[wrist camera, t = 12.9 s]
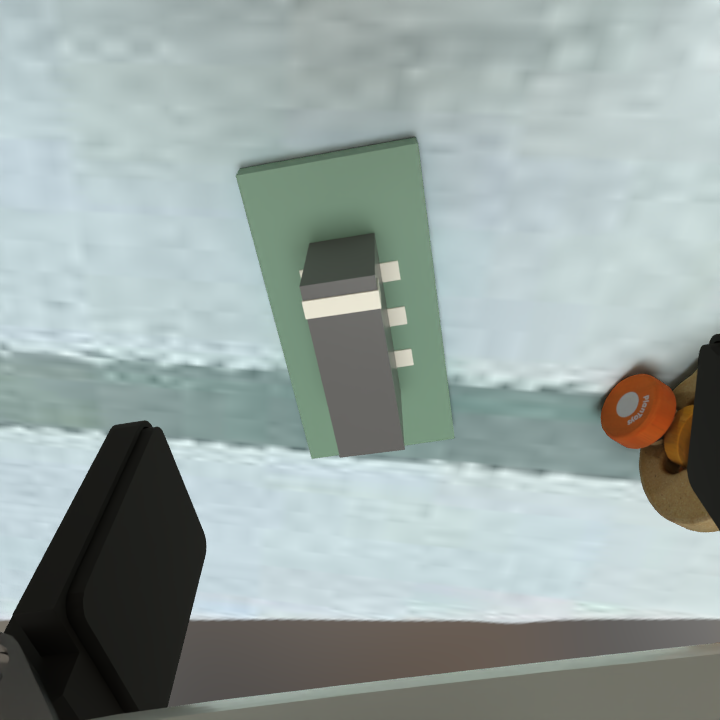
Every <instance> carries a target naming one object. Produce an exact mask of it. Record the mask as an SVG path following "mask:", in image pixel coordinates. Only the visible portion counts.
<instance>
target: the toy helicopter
mask: <svg viewBox="0 0 720 720" xmlns="http://www.w3.org/2000/svg"><path fill="white" fill-rule="evenodd" d="M697 370H698V368H697ZM697 370H696V371H695V372H694V373H693V374H692V375H691V376H690V377H688V378H687V379H685V380H684V381H683V382H682V383H680V384H679V385H678V386H677V387H676V388H675V389H674V390H673V391H672V390H671V388H670V387H668V386H667V385H666V384H664V383H663V382H661V381H660V380H658V379H656V378H655V377H653V376H651V375H648V374H637V375H633V376H630V377H628V378H626V379H624V380H622V381H621V382H619V383H618V384H617V385H616V386H615V387H614V388H613V390H612V391H611V392H610V394H609V395H608V397H607V398H606V400H605V402H604V405H603V408H602V412H601V424H602V428H603V430H604V431H605V433H606V434H607V435H608V436H609V437H610V438H611V439H613V440H615V441H616V442H618V443H620V444H621V445H623V446H625V447H627V448H633V449H639V448H641V449H640V459H639V470H640V477H641V483H642V486H643V489H644V492H645V494H646V496H647V498H648V500H649V502H650V503H651V504H652V506H653V507H654V508H655V510H656V511H657V512H658V513H659V514H660V515H661V516H663V517H664V518H666V519H667V520H669V521H671V522H673V523H676V524H678V525H680V526H682V527H684V528H686V529H689V530H692V531H697V532H715V531H720V530H719V529H718V527H717V526H716V524H715V523H714V521H713V520H712V518H711V517H710V515H709V514H708V512H707V511H706V509H705V508H704V506H703V505H702V503H701V502H700V500H699V499H698V497H697V496H696V494H695V493H694V491H693V489H692V487H691V485H690V483H689V479H688V474H687V464H688V454H689V445H690V436H691V426H692V417H693V407H694V398H695V389H696V379H697Z"/></svg>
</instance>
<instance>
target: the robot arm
mask: <svg viewBox="0 0 720 720" xmlns="http://www.w3.org/2000/svg"><path fill="white" fill-rule="evenodd" d="M687 474H688V479H689V483H690V485H691V487H692V489H693V491H694V493H695V494H696V496H697V497H698V499H699V500H700V502H701V503H702V505H703V506H704V508H705V509H706V511H707V512H708V514H709V515H710V517H711V518H712V520H713V521H714V523H715V524H716V526H717V527H718V529H719V530H720V334H715V335H714V336H712V338H711V340H710V343H709V344H707V345H703V346H702V347H701V349H700V353H699V361H698V370H697V379H696V389H695V398H694V407H693V417H692V426H691V436H690V445H689V454H688V464H687ZM205 555H206V538H205V534H204V531H203V529H202V527H201V524H200V522H199V519H198V517H197V514H196V512H195V509H194V507H193V504H192V502H191V499H190V497H189V494H188V492H187V490H186V487H185V485H184V482H183V480H182V477H181V475H180V472H179V470H178V467H177V465H176V462H175V460H174V458H173V455H172V453H171V450H170V448H169V445H168V443H167V440H166V438H165V435H164V433H163V431H162V430H161V428H160V427H152V425H151V424H150V423H149V422H148V421H138V422H131V423H125V424H118V425H114V426H113V427H112V428H111V429H110V431H109V433H108V435H107V437H106V439H105V441H104V443H103V444H102V446H101V448H100V450H99V452H98V454H97V456H96V458H95V460H94V461H93V463H92V465H91V467H90V469H89V471H88V473H87V475H86V477H85V479H84V480H83V482H82V484H81V486H80V488H79V490H78V492H77V494H76V496H75V497H74V499H73V501H72V503H71V505H70V507H69V509H68V511H67V513H66V514H65V516H64V518H63V520H62V522H61V524H60V526H59V528H58V530H57V531H56V533H55V535H54V537H53V539H52V541H51V543H50V545H49V547H48V548H47V550H46V552H45V554H44V556H43V558H42V560H41V562H40V564H39V566H38V567H37V569H36V571H35V573H34V575H33V577H32V579H31V581H30V583H29V584H28V586H27V588H26V590H25V592H24V594H23V596H22V598H21V600H20V601H19V603H18V605H17V607H16V609H15V611H14V613H13V616H12V618H11V620H10V622H9V624H8V626H7V628H6V629H5V632H4V633H2V632H0V720H720V643H712V644H703V645H694V646H685V647H676V648H666V649H657V650H648V651H639V652H630V653H621V654H612V655H602V656H594V657H584V658H576V659H567V660H558V661H549V662H540V663H531V664H523V665H514V666H505V667H496V668H488V669H479V670H470V671H461V672H453V673H445V674H436V675H427V676H418V677H410V678H402V679H393V680H384V681H376V682H367V683H359V684H350V685H342V686H334V687H326V688H318V689H310V690H301V691H293V692H284V693H277V694H268V695H259V696H252V697H243V698H235V699H226V700H219V701H211V702H203V703H197V704H189V705H182V706H174V707H167V706H168V703H169V698H170V695H171V690H172V686H173V683H174V679H175V674H176V671H177V666H178V663H179V659H180V655H181V650H182V646H183V643H184V639H185V634H186V631H187V626H188V623H189V619H190V615H191V611H192V607H193V603H194V599H195V595H196V591H197V587H198V583H199V579H200V575H201V571H202V567H203V563H204V559H205Z"/></svg>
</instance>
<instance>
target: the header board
mask: <svg viewBox="0 0 720 720" xmlns="http://www.w3.org/2000/svg"><path fill="white" fill-rule="evenodd" d="M236 178H237V182H238V185H239V189H240V193H241V197H242V200H243V204H244V208H245V211H246V215H247V219H248V223H249V226H250V230H251V234H252V238H253V241H254V245H255V249H256V252H257V256H258V260H259V264H260V267H261V271H262V275H263V279H264V282H265V286H266V290H267V293H268V297H269V301H270V305H271V308H272V312H273V316H274V320H275V323H276V327H277V331H278V334H279V338H280V342H281V346H282V349H283V353H284V357H285V361H286V364H287V368H288V372H289V375H290V379H291V383H292V387H293V390H294V394H295V398H296V402H297V405H298V409H299V413H300V416H301V420H302V424H303V428H304V431H305V435H306V439H307V442H308V446H309V450H310V454H311V457H312V459H314V458H321V457H328V456H335V455H339V452H338V448H337V443H336V439H335V435H334V431H333V426H332V422H331V418H330V414H329V410H328V405H327V401H326V397H325V393H324V388H323V384H322V380H321V376H320V372H319V367H318V363H317V359H316V355H315V350H314V346H313V342H312V338H311V334H310V329H309V325H308V321H307V319H306V318H305V314H304V310H303V306H302V296H301V291H300V287H299V286H300V282H301V277H302V273H303V269H304V264H305V260H306V255H307V251H308V247H309V243H314V242H320V241H326V240H333V239H339V238H345V237H352V236H358V235H365V234H371V233H375V239H376V245H377V251H378V257H379V263H380V269H381V275H382V281H383V287H384V293H385V299H386V305H387V311H388V318H389V324H390V330H391V336H392V342H393V348H394V354H395V360H396V366H397V372H398V378H399V384H400V390H401V402H402V417H403V432H404V446H405V445H412V444H419V443H426V442H433V441H440V440H447V439H454V430H453V422H452V414H451V406H450V398H449V390H448V382H447V374H446V366H445V358H444V350H443V342H442V334H441V325H440V317H439V309H438V301H437V293H436V285H435V277H434V269H433V261H432V253H431V245H430V237H429V229H428V220H427V212H426V204H425V196H424V188H423V180H422V172H421V164H420V156H419V148H418V142H417V140H416V137H414V138H408V139H402V140H397V141H391V142H386V143H380V144H375V145H369V146H364V147H358V148H352V149H347V150H341V151H336V152H330V153H325V154H319V155H313V156H308V157H302V158H297V159H291V160H286V161H280V162H274V163H269V164H263V165H258V166H252V167H247V168H241V169H240V170H239V171H238V173H237V175H236Z"/></svg>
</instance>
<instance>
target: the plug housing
mask: <svg viewBox="0 0 720 720" xmlns="http://www.w3.org/2000/svg"><path fill="white" fill-rule="evenodd" d="M299 287H300V291H301V296H302V306H303V310H304V314H305V318H306V319H307V321H308V325H309V329H310V334H311V338H312V342H313V346H314V350H315V355H316V359H317V363H318V367H319V372H320V376H321V380H322V384H323V388H324V393H325V397H326V401H327V405H328V410H329V414H330V418H331V422H332V426H333V431H334V435H335V439H336V443H337V448H338V452H339V456H340V457H348V456H357V455H365V454H373V453H381V452H389V451H397V450H405V447H404V432H403V417H402V402H401V390H400V384H399V378H398V372H397V366H396V360H395V354H394V348H393V342H392V336H391V330H390V324H389V318H388V311H387V305H386V299H385V293H384V287H383V281H382V275H381V269H380V263H379V257H378V251H377V245H376V239H375V233H371V234H365V235H358V236H352V237H345V238H339V239H333V240H326V241H320V242H314V243H309V247H308V251H307V255H306V260H305V264H304V269H303V273H302V277H301V282H300V286H299Z"/></svg>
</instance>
